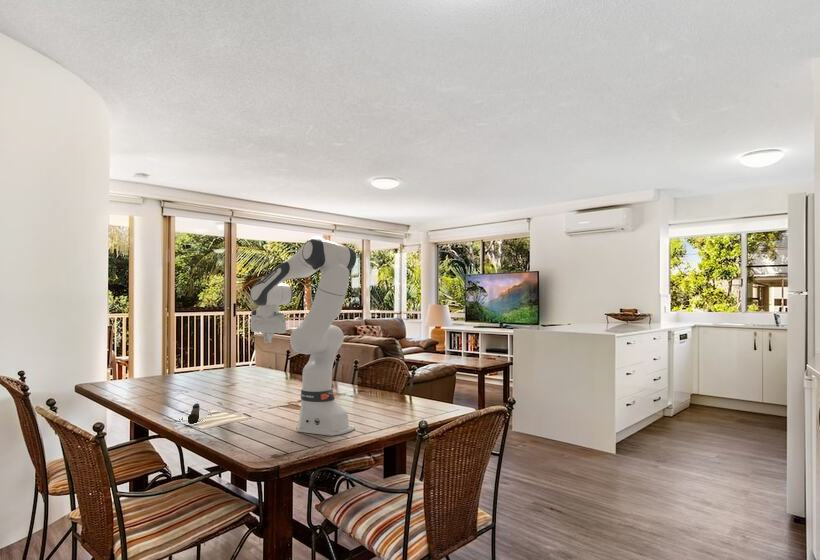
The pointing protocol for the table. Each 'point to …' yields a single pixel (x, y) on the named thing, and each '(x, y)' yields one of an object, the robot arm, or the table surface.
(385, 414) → the table surface
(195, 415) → the hand tool
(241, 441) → the table surface
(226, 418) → the sheet
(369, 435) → the table surface
